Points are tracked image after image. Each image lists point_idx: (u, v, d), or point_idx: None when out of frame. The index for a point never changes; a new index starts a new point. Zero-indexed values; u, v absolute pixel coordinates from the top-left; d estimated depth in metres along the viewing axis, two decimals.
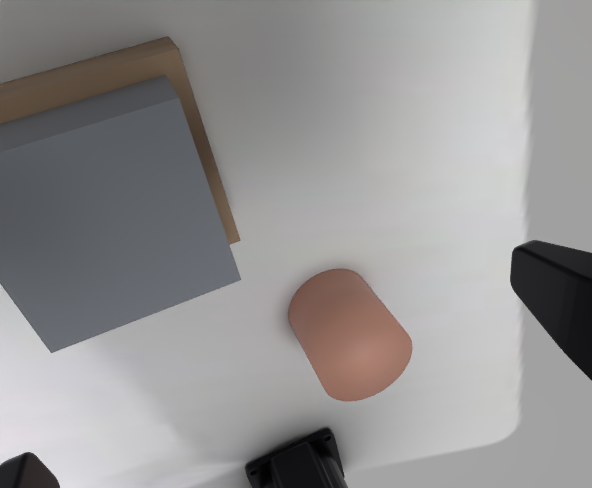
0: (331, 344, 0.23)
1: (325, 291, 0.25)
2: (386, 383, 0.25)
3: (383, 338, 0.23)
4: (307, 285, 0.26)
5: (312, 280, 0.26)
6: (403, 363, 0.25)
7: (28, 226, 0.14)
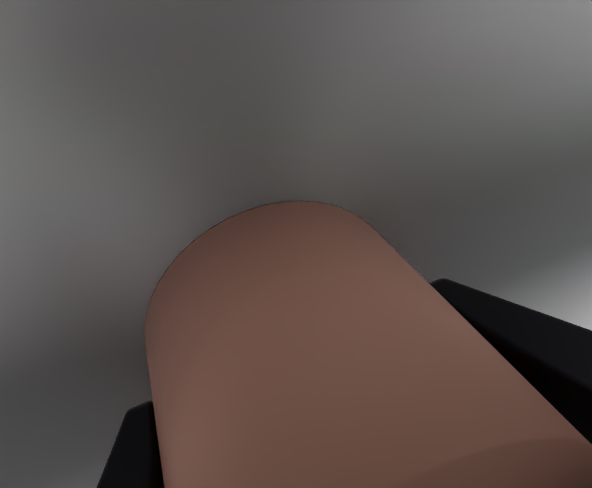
0: None
1: (245, 272, 0.07)
2: None
3: None
4: (193, 253, 0.08)
5: (211, 238, 0.08)
6: None
7: None
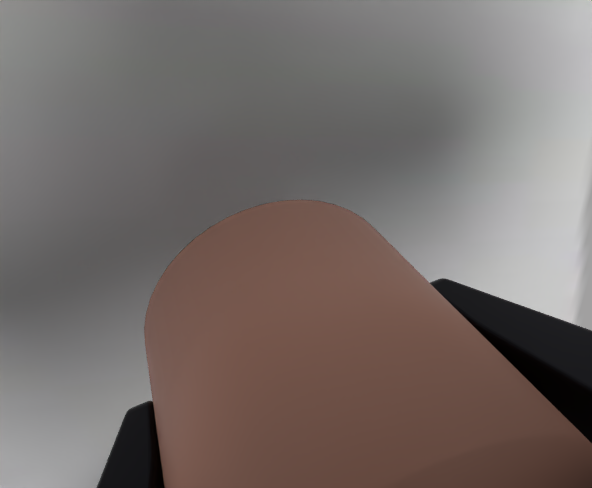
0: None
1: (245, 270, 0.07)
2: None
3: None
4: (193, 252, 0.08)
5: (210, 237, 0.08)
6: None
7: None
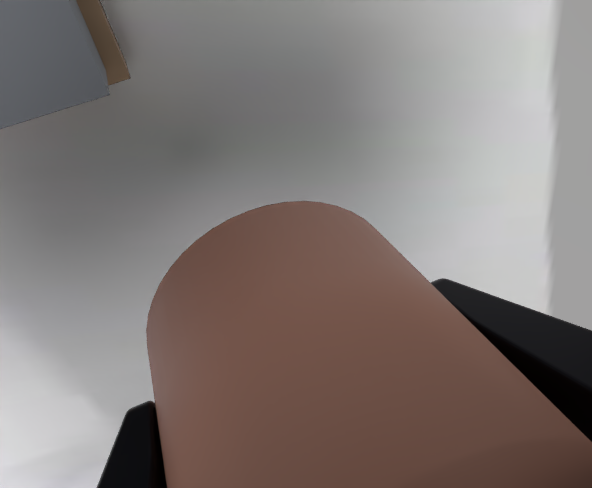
0: None
1: (248, 272, 0.07)
2: None
3: None
4: (195, 254, 0.08)
5: (213, 238, 0.08)
6: None
7: None
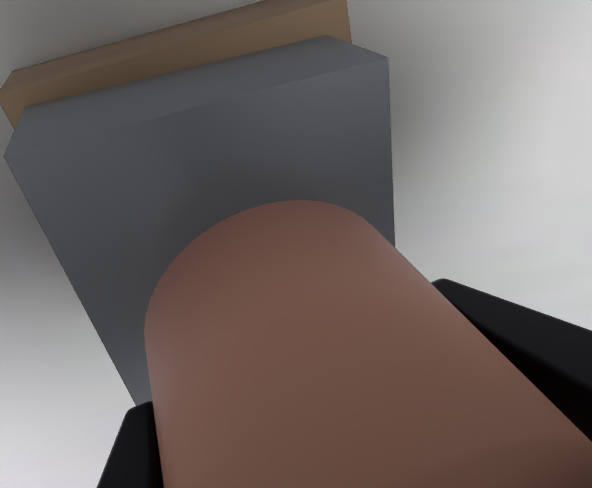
0: None
1: (246, 271, 0.07)
2: None
3: None
4: (193, 252, 0.08)
5: (211, 237, 0.08)
6: None
7: (145, 241, 0.09)
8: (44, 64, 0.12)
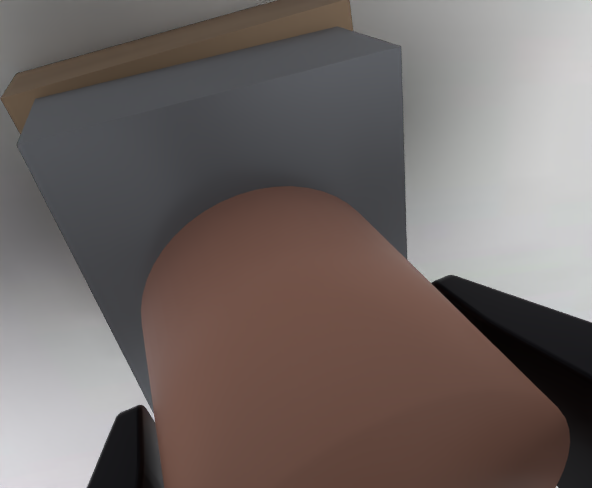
0: (220, 485, 0.05)
1: (235, 249, 0.07)
2: None
3: (469, 445, 0.05)
4: (187, 235, 0.08)
5: (203, 221, 0.08)
6: None
7: (157, 232, 0.09)
8: (48, 66, 0.12)
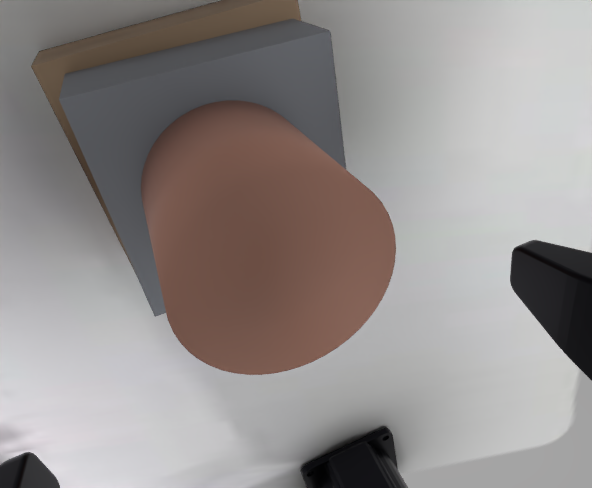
0: (180, 222, 0.09)
1: (197, 130, 0.11)
2: (341, 331, 0.11)
3: (319, 208, 0.09)
4: (169, 130, 0.12)
5: (179, 121, 0.12)
6: (377, 282, 0.11)
7: None
8: (64, 45, 0.15)
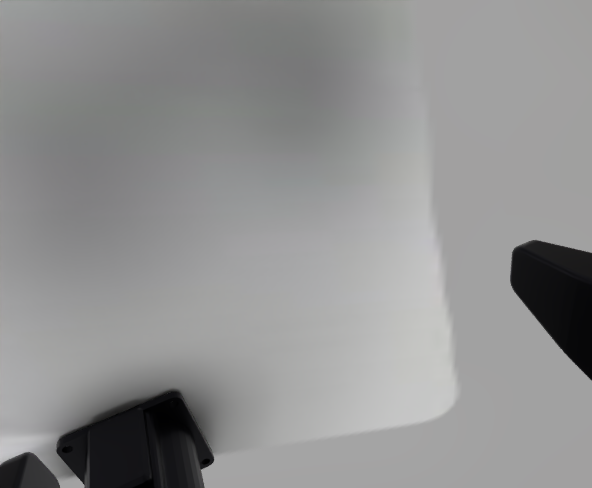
0: None
1: None
2: None
3: None
4: None
5: None
6: None
7: None
8: None
